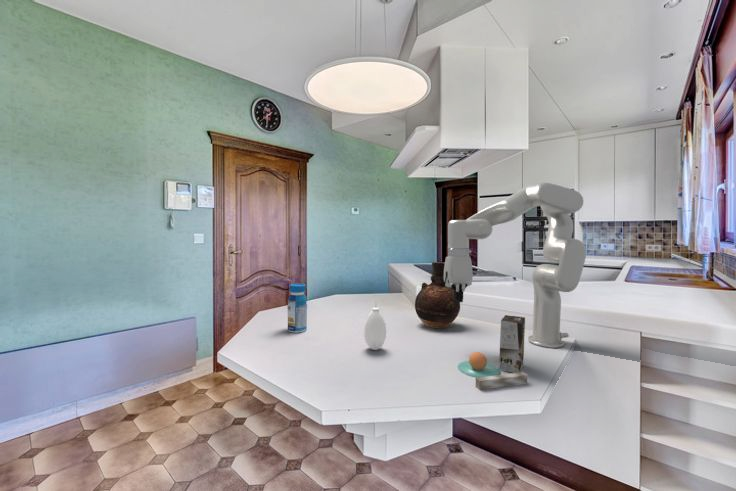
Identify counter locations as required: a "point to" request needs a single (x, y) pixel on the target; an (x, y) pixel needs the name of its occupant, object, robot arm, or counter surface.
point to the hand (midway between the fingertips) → (458, 301)
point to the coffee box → (512, 343)
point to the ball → (477, 361)
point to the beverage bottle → (297, 309)
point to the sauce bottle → (375, 329)
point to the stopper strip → (501, 380)
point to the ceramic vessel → (436, 301)
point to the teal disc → (487, 371)
